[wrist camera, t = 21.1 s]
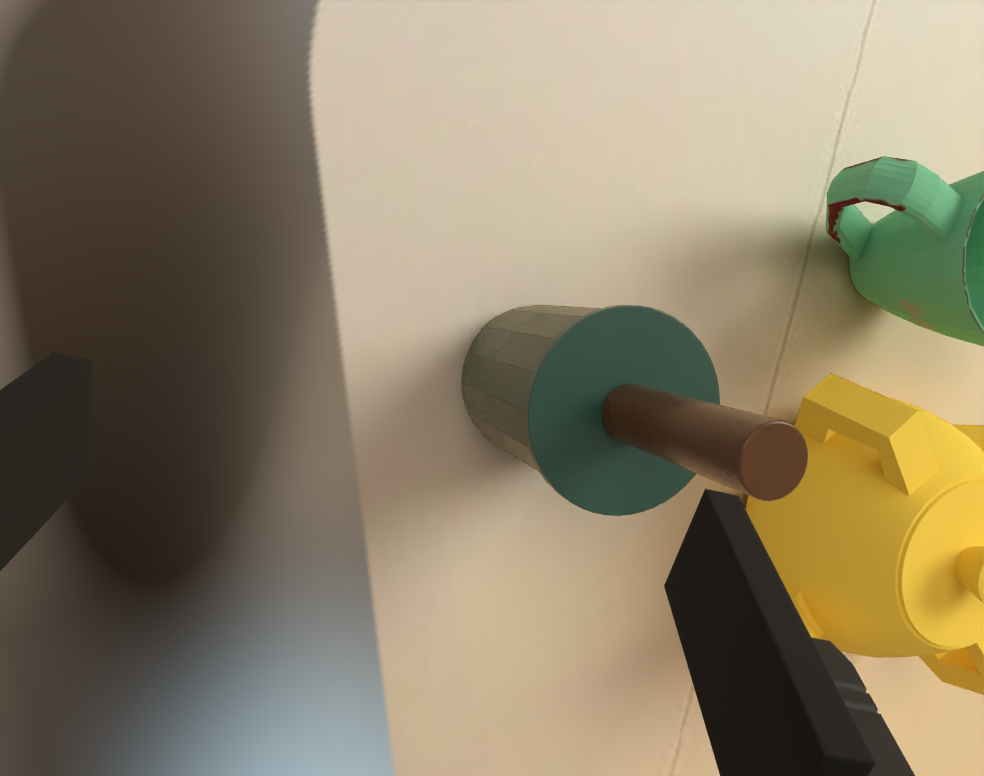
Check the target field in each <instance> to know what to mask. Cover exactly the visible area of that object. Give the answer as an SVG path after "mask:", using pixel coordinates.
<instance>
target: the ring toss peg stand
mask: <svg viewBox="0 0 984 776" xmlns="http://www.w3.org/2000/svg"><path fill="white" fill-rule="evenodd" d="M524 430H525V437H526V441H527V445H528V449H529V452H530V454H531V457H532V460H533V462H534V464H535V465H536V467H537V469H538V471H539V473H540V474H541V475H542V477H543V478H544V479H545V481H546V482H547V483H548V484H549V485H550V486H551V487H552V488H553V489H554V490H555V491H556V492H557V493H558V494H560V495H561V496H562V497H564V498H565V499H566V500H568V501H569V502H571V503H573V504H575V505H576V506H578V507H580V508H582V509H585V510H588V511H590V512H593V513H598V514H603V515H614V516H620V515H631V514H635V513H640V512H643V511H646V510H649V509H651V508H654V507H656V506H658V505H660V504H662V503H664V502H666V501H667V500H668V499H670V498H671V497H673V496H674V495H676V494H677V493H678V492H679V491H680V490H681V489H682V488H684V487H685V486H686V485H687V484H688V482H689V481H690V480H691V479H692V478H693V477H694V476H695V474H696V473H697V474H699V475H701V476H704V477H706V478H709V479H711V480H713V481H716V482H718V483H720V484H723V485H725V486H728V487H730V488H732V489H735V490H737V491H739V492H742V493H744V494H747V495H749V496H751V497H754V498H756V499H759V500H762V501H774V500H778V499H781V498H783V497H785V496H787V495H788V494H790V493H791V492H792V491H793V490H794V489H795V488H796V487H797V486H798V485H799V483H800V482H801V480H802V478H803V476H804V474H805V471H806V468H807V462H808V450H807V445H806V442H805V439H804V437H803V435H802V434H801V433H800V431H799V430H798V429H797V428H796V427H795V426H793V425H792V424H790V423H788V422H786V421H782V420H778V419H774V418H770V417H766V416H762V415H758V414H754V413H750V412H746V411H742V410H738V409H734V408H730V407H726V406H722V405H720V398H719V387H718V381H717V376H716V373H715V370H714V366H713V364H712V361H711V359H710V357H709V355H708V353H707V351H706V349H705V348H704V346H703V345H702V343H701V341H700V340H699V339H698V338H697V337H696V335H695V334H694V333H693V332H692V331H691V330H690V329H689V328H688V327H687V326H685V325H684V324H683V323H682V322H680V321H679V320H677V319H676V318H674V317H673V316H671V315H669V314H667V313H664V312H662V311H659V310H656V309H653V308H649V307H643V306H632V305H619V306H611V307H606V308H602V309H599V310H595V311H593V312H590V313H588V314H586V315H584V316H582V317H580V318H578V319H577V320H575V321H573V322H572V323H570V324H569V325H568V326H567V327H565V328H564V329H563V330H562V331H560V332H559V333H558V335H557V336H556V337H555V338H554V339H553V340H552V341H551V342H550V343H549V345H548V346H547V347H546V349H545V350H544V351H543V353H542V354H541V356H540V358H539V360H538V361H537V363H536V365H535V367H534V370H533V372H532V375H531V377H530V380H529V383H528V387H527V391H526V395H525V402H524Z"/></svg>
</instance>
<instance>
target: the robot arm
mask: <svg viewBox="0 0 984 776" xmlns="http://www.w3.org/2000/svg"><path fill="white" fill-rule="evenodd" d="M91 474H92V361H91V360H86V359H82V358H77V357H72V356H67V355H63V354H58V353H52V354H51V355H49V356H48V357H46V358H45V359H44V360H42V361H41V362H39V363H38V364H36V365H35V366H34V367H32V368H31V369H29V370H28V371H27V372H25V373H24V374H22V375H21V376H19V377H18V378H17V379H15V380H14V381H12V382H11V383H10V384H8V385H7V386H5V387H4V388H2V389H1V390H0V571H1V570H2V569H3V568H4V567H5V565H6V564H7V563H8V562H9V561H10V560H11V559H12V558H13V557H14V556H15V555H16V554H17V553H18V552H19V550H21V548H22V547H23V546H24V545H25V544H26V543H27V542H28V541H29V540H30V539H31V538H32V537H33V536H34V535H35V533H36V532H37V531H38V530H39V529H40V528H41V527H42V526H43V525H44V524H45V523H46V522H47V521H48V520H49V519H50V517H51V516H52V515H53V514H54V513H55V512H56V511H57V510H58V509H59V508H60V507H61V506H62V505H63V504H64V503H65V501H66V500H67V499H68V498H69V497H70V496H71V495H72V494H73V493H74V492H75V491H76V490H77V489H78V488H79V487H80V485H81V484H82V483H83V482H84V481H85V480H86V479H87V478H88V477H89V476H90V475H91ZM664 587H665V590H666V593H667V597H668V600H669V604H670V607H671V610H672V614H673V617H674V621H675V624H676V627H677V631H678V634H679V637H680V641H681V644H682V648H683V651H684V654H685V658H686V661H687V665H688V668H689V671H690V675H691V678H692V681H693V685H694V688H695V692H696V695H697V698H698V702H699V705H700V709H701V712H702V715H703V719H704V722H705V725H706V729H707V732H708V736H709V739H710V742H711V746H712V749H713V753H714V756H715V759H716V763H717V766H718V770H719V773H720V776H915V775H914V773H913V771H912V770H911V768H910V766H909V764H908V762H907V761H906V759H905V757H904V755H903V753H902V752H901V750H900V748H899V746H898V745H897V743H896V741H895V739H894V737H893V736H892V734H891V732H890V730H889V728H888V727H887V725H886V723H885V721H884V719H883V718H882V716H881V714H878V713H877V707H876V705H875V703H874V702H873V700H872V698H871V696H870V694H868V693H866V687H865V685H864V684H863V682H862V680H861V678H860V676H859V675H858V673H857V671H856V669H855V668H854V666H853V664H852V663H851V662H850V661H849V660H848V659H847V658H846V657H845V656H844V655H843V654H842V653H841V652H840V651H839V650H838V648H837V647H836V646H835V645H834V644H833V643H832V642H831V641H827V640H822V639H817V638H812V637H811V636H810V634H809V632H808V630H807V628H806V627H805V625H804V623H803V621H802V619H801V617H800V615H799V613H798V611H797V609H796V607H795V605H794V603H793V601H792V599H791V597H790V595H789V593H788V592H787V590H786V588H785V586H784V584H783V582H782V580H781V578H780V576H779V574H778V572H777V570H776V568H775V566H774V564H773V562H772V560H771V558H770V557H769V555H768V553H767V551H766V549H765V547H764V545H763V543H762V541H761V539H760V537H759V535H758V533H757V531H756V529H755V527H754V525H753V523H752V522H751V520H750V518H749V516H748V514H747V512H746V510H745V508H744V506H743V504H742V502H741V500H740V498H739V496H737V495H732V494H727V493H722V492H717V491H713V490H708V489H705V491H704V493H703V495H702V498H701V500H700V502H699V505H698V507H697V509H696V512H695V514H694V517H693V519H692V521H691V524H690V526H689V528H688V531H687V533H686V535H685V538H684V540H683V543H682V545H681V547H680V550H679V552H678V554H677V557H676V559H675V561H674V564H673V566H672V569H671V571H670V573H669V576H668V578H667V580H666V583H665V585H664Z"/></svg>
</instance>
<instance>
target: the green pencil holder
mask: <svg viewBox="0 0 984 776" xmlns="http://www.w3.org/2000/svg"><path fill="white" fill-rule="evenodd" d="M599 309H602V308H586V307H568V306H550V305H533V306H526V307H519V308H516V309H512V310H510V311H507V312H505V313H503V314H501V315H499V316H498V317H496V318H494V319H493V320H492V321H491V322H489V323H488V324H487V325H486V326H485V327H484V328H483V329H482V330H481V331H480V332H479V334H478V335H477V336H476V338H475V339H474V341H473V343H472V344H471V346H470V348H469V350H468V353H467V355H466V358H465V362H464V366H463V372H462V392H463V398H464V402H465V406H466V408H467V411H468V413H469V415H470V417H471V419H472V421H473V422H474V424H475V425H476V426H477V428H478V429H479V430H480V431H481V432H482V434H483V435H484V436H485V437H486V438H488V439H489V440H491V441H492V442H494V443H496V444H497V445H499V446H500V447H502V448H503V449H505V450H506V451H508V452H509V453H511V454H512V455H514V456H516V457H517V458H519V459H520V460H522V461H523V462H525V463H526V464H528V465H529V466H531V467H532V468H534V469H536V470H537V471H538V469H537V467H536V465H535V464H534V462H533V460H532V457H531V454H530V452H529V449H528V445H527V441H526V437H525V430H524V402H525V395H526V391H527V387H528V383H529V380H530V377H531V375H532V372H533V370H534V367H535V365H536V363H537V361H538V360H539V358H540V356H541V354H542V353H543V351H544V350H545V349H546V347H547V346H548V345H549V343H550V342H551V341H552V340H553V339H554V338H555V337H556V336H557V335H558V333H559V332H560V331H562V330H563V329H564V328H565V327H567V326H568V325H569V324H570V323H572V322H573V321H575V320H577V319H578V318H580V317H582V316H584V315H586V314H588V313H590V312H593V311H595V310H599Z"/></svg>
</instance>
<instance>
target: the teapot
mask: <svg viewBox="0 0 984 776" xmlns="http://www.w3.org/2000/svg"><path fill="white" fill-rule="evenodd" d="M793 426H795V427H796V428H797V429H798V430H799V431H800V433H801V434H802V435H803V437H804V439H805V442H806V445H807V450H808V462H807V468H806V471H805V474H804V476H803V478H802V480H801V482H800V483H799V485H798V486H797V487H796V488H795V489H794V490H793V491H792V492H791V493H790V494H788V495H787V496H785V497H783V498H781V499H778V500H774V501H762V500H759V499H756V498H754V497H751V496H748V499H747V505H746V512H747V514H748V516H749V518H750V520H751V522H752V523H753V525H754V527H755V529H756V531H757V533H758V535H759V537H760V539H761V541H762V543H763V545H764V547H765V549H766V551H767V553H768V555H769V557H770V558H771V560H772V562H773V564H774V566H775V568H776V570H777V572H778V574H779V576H780V578H781V580H782V582H783V584H784V586H785V588H786V590H787V592H788V593H789V595H790V597H791V599H792V601H793V603H794V605H795V607H796V609H797V611H798V613H799V615H800V617H801V619H802V621H803V623H804V625H805V627H806V628H807V630H808V632H809V634H810V636H811V637H812V638H817V639H822V640H827V641H831V642H832V643H833V644H834V645H835V646H836V647H837V648H838V650H839V651H843V652H847V653H851V654H857V655H863V656H871V657H910V656H919V657H920V658H921V659H922V660H923V661H924V663H925V664H926V665H927V666H928V667H929V668H930V669H931V670H932V671H933V672H934V674H935V675H936V676H937V677H938V678H939V679H940V680H941V681H942V682H945V683H948V684H951V685H954V686H958V687H961V688H964V689H967V690H970V691H973V692H976V693H980V694H983V695H984V425H957V424H950V423H948V422H947V421H945V420H943V419H941V418H939V417H937V416H935V415H933V414H932V413H930V412H928V411H926V410H924V409H922V408H919V407H917V406H914V405H912V404H909V403H906V402H903V401H900V400H897V399H892V398H888V397H886V396H884V395H881V394H879V393H877V392H874V391H872V390H870V389H867V388H865V387H863V386H860V385H858V384H856V383H853V382H851V381H849V380H846V379H844V378H842V377H839V376H837V375H834V374H832V373H830V374H829V375H828V376H827V377H826V378H825V379H824V380H822V381H821V382H820V383H819V384H818V385H817V386H816V387H814V388H813V389H812V390H811V391H810V392H809V393H808V394H806V395H805V396H804V397H803V401H802V404H801V407H800V410H799V414H798V417H797V420H796V423H795V425H793Z"/></svg>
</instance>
